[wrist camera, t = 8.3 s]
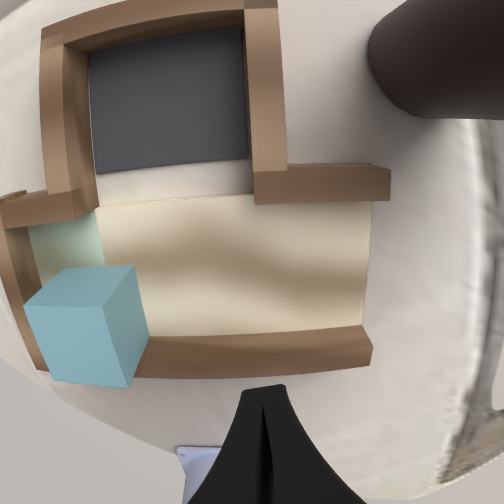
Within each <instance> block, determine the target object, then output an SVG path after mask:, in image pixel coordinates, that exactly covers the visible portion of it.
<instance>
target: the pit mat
mask: <svg viewBox="0 0 504 504" xmlns="http://www.w3.org/2000/svg"><path fill="white" fill-rule="evenodd" d="M89 69H90V106H91V124H92V137H93V149H94V159H95V168H96V174H99V173H105V172H112V171H119V170H126V169H133V168H141V167H149V166H158V165H167V164H176V163H186V162H197V161H209V160H223V159H238V158H248V153H247V134H246V116H245V98H244V80H243V62H242V45H241V28H229V29H216V30H206V31H197V32H189V33H182V34H175V35H168V36H162V37H157V38H151V39H146V40H141V41H136V42H131V43H127V44H123V45H118V46H114V47H110V48H106V49H102V50H99V51H95V52H92V53H90V60H89Z"/></svg>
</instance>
